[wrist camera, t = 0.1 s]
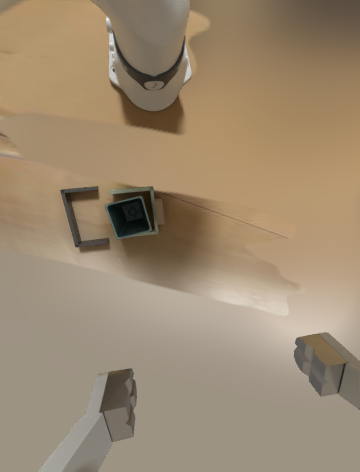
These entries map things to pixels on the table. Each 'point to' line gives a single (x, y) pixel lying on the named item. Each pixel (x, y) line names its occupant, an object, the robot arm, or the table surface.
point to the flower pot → (128, 217)
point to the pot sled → (156, 206)
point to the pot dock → (73, 221)
